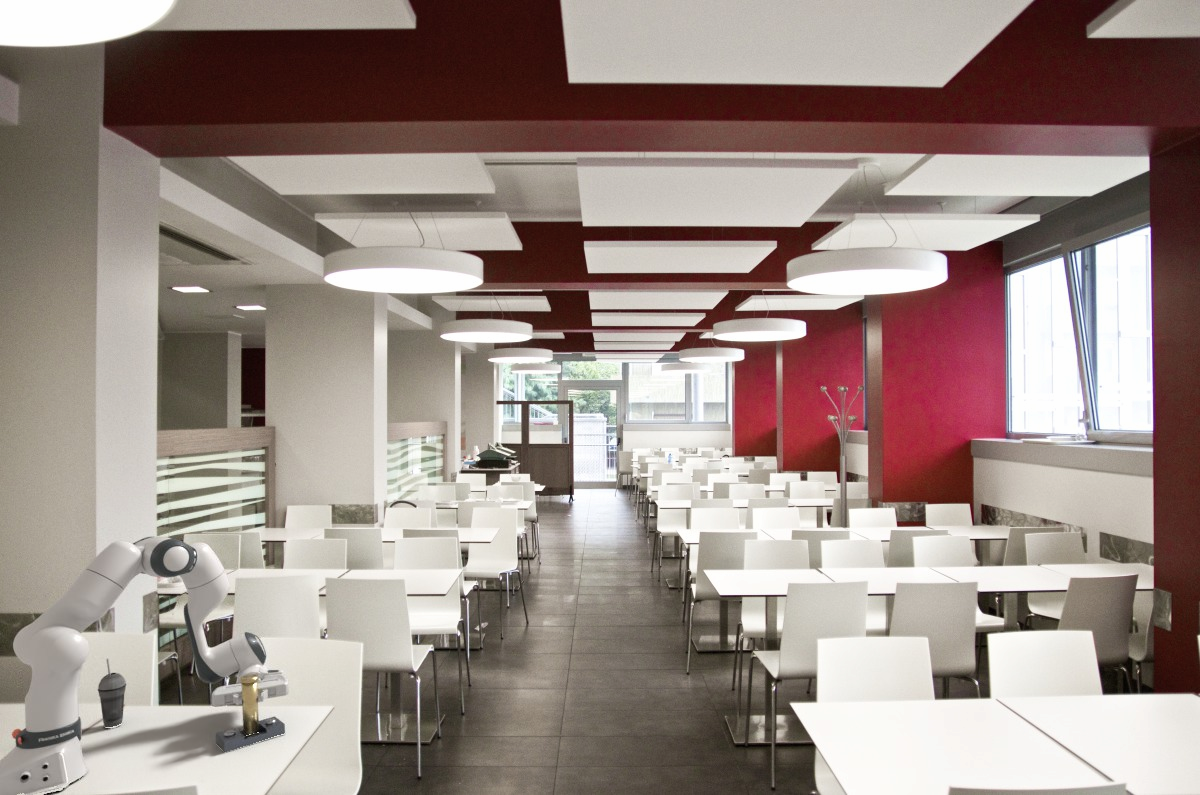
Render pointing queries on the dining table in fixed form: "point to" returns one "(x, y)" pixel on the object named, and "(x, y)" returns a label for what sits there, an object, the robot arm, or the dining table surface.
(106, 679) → the beverage cup
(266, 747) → the dining table surface
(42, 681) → the robot arm
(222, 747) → the slotted clamp bar
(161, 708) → the dining table surface
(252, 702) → the pin
